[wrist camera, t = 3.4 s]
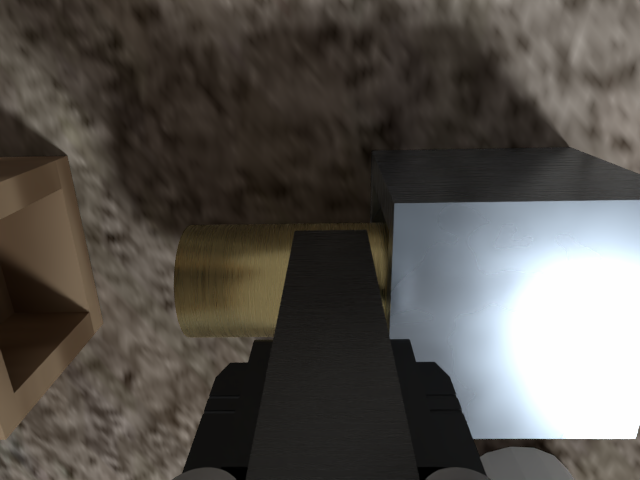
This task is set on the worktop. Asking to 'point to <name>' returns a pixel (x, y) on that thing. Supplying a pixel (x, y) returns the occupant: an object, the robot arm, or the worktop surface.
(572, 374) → the block
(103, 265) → the worktop surface
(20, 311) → the socket block
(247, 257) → the slide bolt
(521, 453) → the shot glass
